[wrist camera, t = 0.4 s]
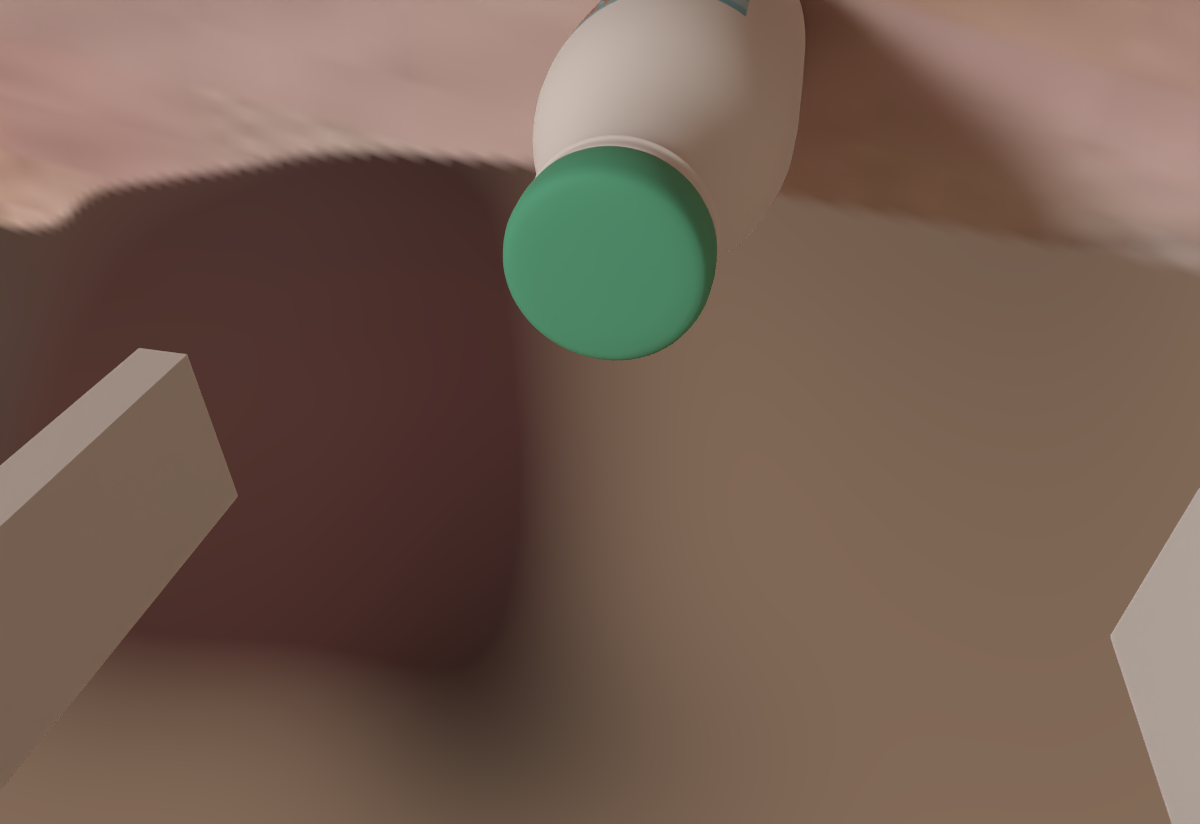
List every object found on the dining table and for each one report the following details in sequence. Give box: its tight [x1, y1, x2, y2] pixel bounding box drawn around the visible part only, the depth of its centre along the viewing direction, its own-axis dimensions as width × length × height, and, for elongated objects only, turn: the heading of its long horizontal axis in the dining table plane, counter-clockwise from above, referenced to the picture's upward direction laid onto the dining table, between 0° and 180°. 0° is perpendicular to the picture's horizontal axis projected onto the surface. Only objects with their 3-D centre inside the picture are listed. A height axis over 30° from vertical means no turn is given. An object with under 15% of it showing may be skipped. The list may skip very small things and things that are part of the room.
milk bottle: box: [503, 0, 805, 360], centre depth 25 cm, size 8×8×20 cm
